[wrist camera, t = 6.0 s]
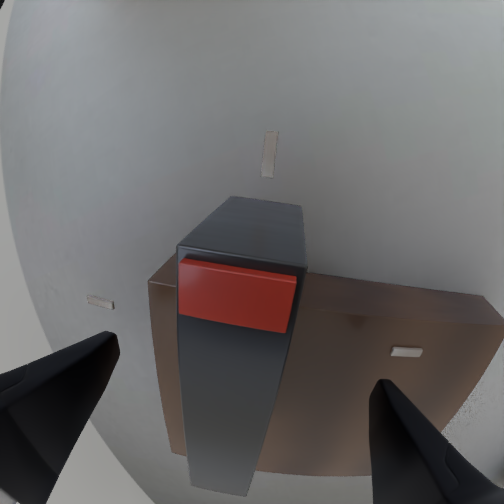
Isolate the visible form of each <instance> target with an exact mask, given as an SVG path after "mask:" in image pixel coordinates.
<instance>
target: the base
mask: <svg viewBox="0 0 504 504" xmlns="http://www.w3.org/2000/svg"><path fill="white" fill-rule="evenodd" d="M277 141H278V132H276V131H267V130H266V134H265V143H264V152H263V161H262V170H261V177H266V178H273V175H274V167H275V158H276V150H277ZM148 292H149V306H150V317H151V327H152V337H153V346H154V354H155V361H156V369H157V376H158V382H159V389H160V395H161V401H162V407H163V412H164V417H165V423H166V428H167V433H168V437H169V442H170V447H171V451H172V453H175V454H179V455H183V456H186V457H187V454H186V446H185V437H184V427H183V417H182V406H181V394H180V381H179V365H178V345H177V315H176V253H175V254H174V255H173V256H172V257H171V258H170V259H169V260H168V261H167V262H166V263H165V264H164V265H163V266H162V267H161V268H160V269H159V270H158V271H157V272H156V273H155V274H154V275H153V276H152V277H151V278H150V279H149V280H148ZM87 301H88V303H90V304H93V305H97V306H100V307H104V308H107V309H111V310H114V309H115V307H114V301H110V300H107V299H103V298H99V297H96V296H92V295H87ZM503 339H504V319H503V317H502V316H501V315H500V314H499V313H498V312H497V311H496V310H495V309H494V307H493V306H492V305H491V304H490V303H489V302H488V301H487V300H486V299H485V298H484V297H483V296H478V295H470V294H462V293H454V292H446V291H438V290H431V289H423V288H416V287H408V286H401V285H393V284H386V283H379V282H371V281H364V280H357V279H350V278H343V277H336V276H329V275H322V274H315V273H308V272H307V273H306V278H305V283H304V287H303V292H302V296H301V301H300V306H299V310H298V314H297V319H296V323H295V327H294V332H293V336H292V340H291V344H290V348H289V352H288V356H287V360H286V364H285V368H284V372H283V376H282V379H281V383H280V387H279V391H278V394H277V398H276V402H275V405H274V409H273V412H272V416H271V419H270V423H269V426H268V430H267V433H266V436H265V440H264V443H263V446H262V450H261V453H260V456H259V459H258V462H257V465H256V469H255V470H256V471H263V472H272V473H281V474H292V475H307V476H370V475H372V471H371V458H370V447H369V397H370V394H371V392H372V390H373V388H374V386H375V385H376V383H377V381H378V380H379V379H390V380H391V381H392V382H393V383H394V384H395V385H396V386H397V387H398V388H399V389H400V390H401V391H402V392H403V393H404V394H405V395H406V396H407V397H408V398H409V400H410V401H411V402H412V403H413V404H414V405H415V406H416V407H417V408H418V409H419V410H420V411H421V412H422V413H423V414H424V416H425V417H426V418H427V419H428V420H429V421H430V422H431V423H432V424H433V425H434V426H435V427H436V428H437V430H438V431H439V432H440V433H441V431H442V430H443V429H444V428H445V426H446V425H447V424H448V423H449V422H450V420H451V419H452V418H453V416H454V415H455V414H456V413H457V411H458V410H459V409H460V407H461V406H462V405H463V403H464V402H465V400H466V399H467V398H468V396H469V395H470V393H471V392H472V390H473V389H474V387H475V386H476V384H477V383H478V381H479V380H480V378H481V377H482V375H483V374H484V372H485V370H486V369H487V367H488V365H489V364H490V362H491V360H492V359H493V357H494V355H495V353H496V352H497V350H498V348H499V346H500V344H501V343H502V341H503Z"/></svg>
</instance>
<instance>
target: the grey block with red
mask: <svg viewBox="0 0 504 504" xmlns="http://www.w3.org/2000/svg"><path fill="white" fill-rule="evenodd" d="M307 268H308V267H307V255H306V244H305V233H304V223H303V213H302V207H301V206H298V205H292V204H285V203H279V202H272V201H265V200H258V199H251V198H243V197H236V196H230V197H229V198H228V199H227V200H226V201H225V202H224V203H223V204H221V205H220V206H219V207H218V208H217V209H216V210H215V211H214V212H212V213H211V214H210V215H209V216H208V217H207V218H206V219H205V220H204V221H202V222H201V223H200V224H199V225H198V226H197V227H196V228H195V229H194V230H193V231H192V232H190V233H189V234H188V235H187V236H186V237H185V238H184V239H183V240H182V241H181V242H180V243H179V244H178V245H177V247H176V315H177V345H178V365H179V381H180V394H181V406H182V417H183V427H184V437H185V446H186V454H187V462H188V469H189V476H190V483H191V486H194V487H198V488H202V489H207V490H211V491H216V492H221V493H226V494H231V495H237V496H243V497H246V496H247V493H248V490H249V487H250V484H251V481H252V478H253V475H254V472H255V469H256V465H257V462H258V459H259V456H260V453H261V450H262V446H263V443H264V440H265V436H266V433H267V430H268V426H269V423H270V419H271V416H272V412H273V409H274V405H275V402H276V398H277V394H278V391H279V387H280V383H281V379H282V376H283V372H284V368H285V364H286V360H287V356H288V352H289V348H290V344H291V340H292V336H293V332H294V327H295V323H296V319H297V314H298V310H299V306H300V301H301V296H302V292H303V287H304V283H305V278H306V273H307Z"/></svg>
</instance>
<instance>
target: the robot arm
mask: <svg viewBox="0 0 504 504" xmlns="http://www.w3.org/2000/svg"><path fill="white" fill-rule="evenodd" d="M119 356H120V349H119V344H118V339H117V335H116V334H115V333H112V332H109V331H104V332H101V333H99V334H97V335H94V336H92V337H90V338H87V339H85V340H83V341H80V342H78V343H76V344H73V345H71V346H69V347H66V348H64V349H62V350H59V351H57V352H55V353H52V354H50V355H48V356H46V357H43V358H40V359H38V360H36V361H33V362H31V363H29V364H28V365H27V364H26V365H24V366H21V367H19V368H16V369H14V370H11V371H8V372H5V373H2V374H0V504H16V502H19V503H20V504H46V502H47V500H48V498H49V496H50V493H51V492H52V490H53V488H54V485H55V483H56V481H57V479H58V477H59V475H60V473H61V471H62V469H63V467H64V465H65V463H66V461H67V459H68V457H69V455H70V453H71V451H72V449H73V447H74V445H75V443H76V442H77V440H78V438H79V436H80V434H81V432H82V430H83V428H84V426H85V425H86V423H87V421H88V419H89V417H90V416H91V414H92V412H93V410H94V408H95V407H96V405H97V403H98V401H99V399H100V398H101V396H102V394H103V392H104V390H105V388H106V386H107V384H108V382H109V379H110V377H111V375H112V372H113V370H114V368H115V365H116V363H117V361H118V359H119ZM369 447H370V458H371V471H372V486H373V504H504V488H500V487H498V486H496V485H495V484H493V483H492V482H491V481H490V480H489V479H487V478H486V477H485V476H484V475H483V474H482V473H481V472H479V471H478V470H477V469H476V468H475V467H474V466H473V465H471V464H470V463H469V462H468V461H467V460H466V459H465V458H464V457H463V456H462V455H461V454H460V453H459V452H458V451H457V450H456V449H455V448H454V447H453V446H452V445H451V443H448V440H447V439H446V438H445V437H444V436H443V435H442V434H441V433H440V432H439V431H438V430H437V428H436V427H435V426H434V425H433V424H432V423H431V422H430V421H429V420H428V419H427V418H426V417H425V416H424V414H423V413H422V412H421V411H420V410H419V409H418V408H417V407H416V406H415V405H414V404H413V403H412V402H411V401H410V400H409V398H408V397H407V396H406V395H405V394H404V393H403V392H402V391H401V390H400V389H399V388H398V387H397V386H396V385H395V384H394V383H393V382H392V381H391V380H390V379H379V380H378V381H377V383H376V385H375V386H374V388H373V390H372V392H371V394H370V397H369Z"/></svg>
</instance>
